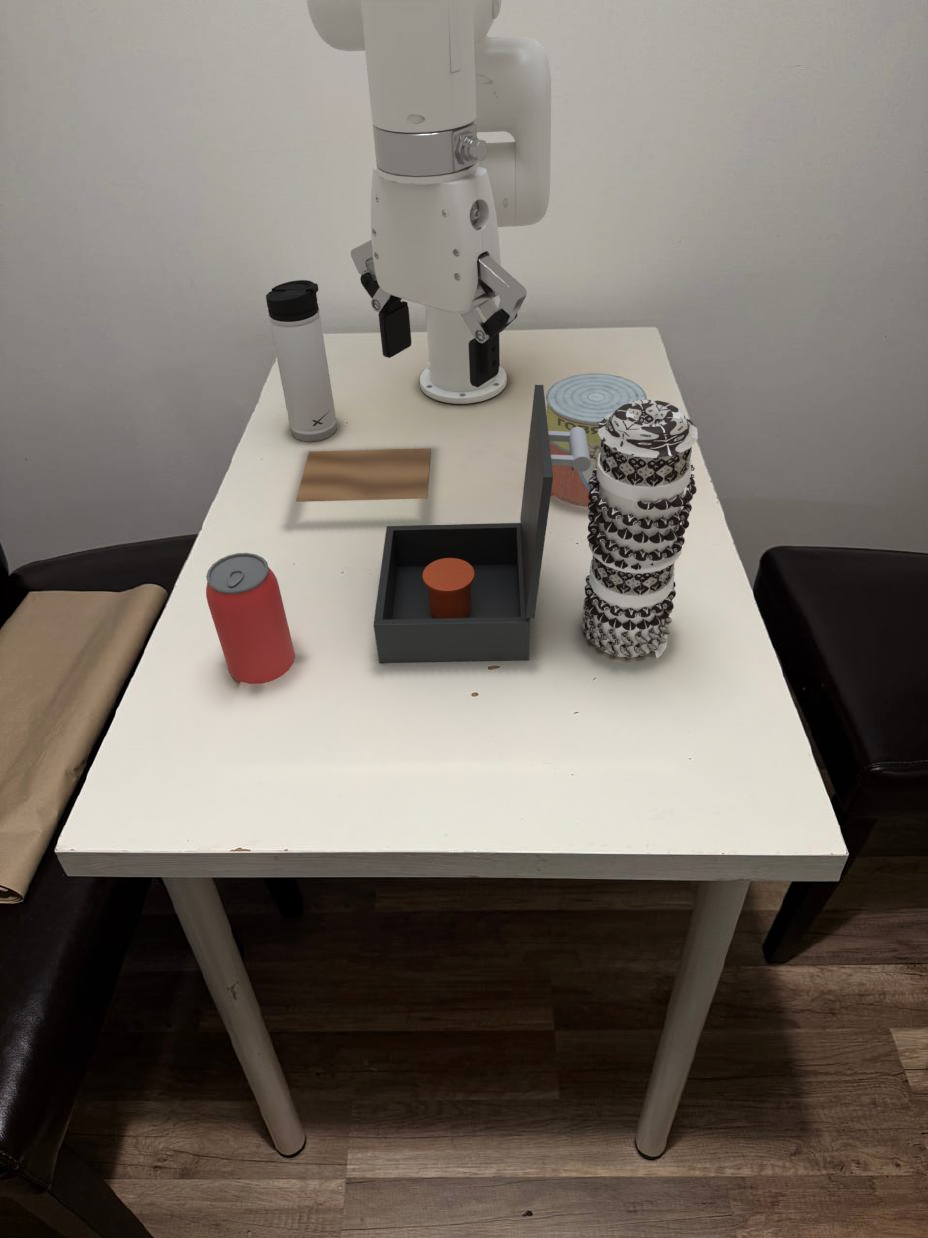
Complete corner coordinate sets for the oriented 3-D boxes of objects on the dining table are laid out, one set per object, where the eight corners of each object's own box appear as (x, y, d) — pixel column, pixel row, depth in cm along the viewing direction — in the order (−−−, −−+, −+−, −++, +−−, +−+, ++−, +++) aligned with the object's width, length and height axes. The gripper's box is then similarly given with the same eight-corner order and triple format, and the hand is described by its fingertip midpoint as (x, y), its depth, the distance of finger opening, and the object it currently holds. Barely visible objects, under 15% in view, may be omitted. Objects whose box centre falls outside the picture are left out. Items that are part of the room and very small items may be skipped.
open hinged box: (379, 668, 87) (373, 625, 83) (391, 568, 99) (386, 525, 95) (529, 666, 87) (529, 622, 83) (523, 565, 98) (524, 522, 94)
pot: (426, 592, 94) (423, 558, 91) (476, 591, 94) (474, 557, 91) (424, 625, 90) (421, 591, 87) (475, 624, 90) (474, 590, 87)
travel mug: (331, 444, 119) (307, 296, 105) (284, 440, 120) (255, 294, 106) (345, 420, 123) (324, 275, 110) (300, 417, 124) (274, 273, 111)
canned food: (558, 518, 104) (561, 427, 96) (534, 467, 112) (535, 380, 104) (650, 504, 106) (661, 413, 98) (619, 454, 114) (627, 367, 106)
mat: (309, 454, 117) (308, 451, 117) (430, 450, 116) (430, 447, 116) (289, 526, 105) (289, 523, 105) (425, 523, 105) (424, 520, 104)
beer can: (219, 686, 86) (189, 592, 78) (241, 639, 91) (214, 546, 83) (285, 691, 85) (261, 597, 77) (303, 644, 90) (282, 550, 82)
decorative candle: (680, 618, 91) (717, 395, 74) (659, 680, 85) (695, 452, 68) (593, 598, 94) (610, 379, 77) (567, 657, 87) (579, 432, 70)
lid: (543, 476, 72) (600, 479, 72) (534, 384, 84) (583, 386, 84) (525, 618, 82) (575, 620, 82) (520, 518, 94) (563, 520, 94)
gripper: (553, 151, 63) (547, 374, 75) (373, 122, 72) (393, 326, 83) (489, 179, 59) (494, 411, 71) (306, 144, 67) (337, 357, 79)
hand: (439, 365), depth 77 cm, fingers open, 9 cm apart
